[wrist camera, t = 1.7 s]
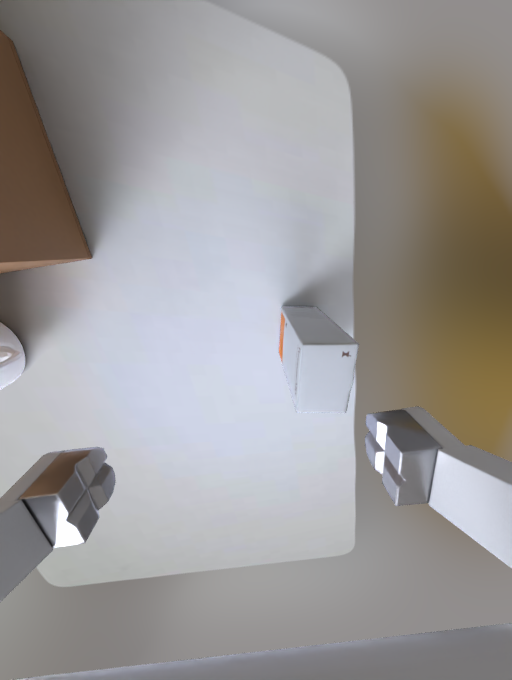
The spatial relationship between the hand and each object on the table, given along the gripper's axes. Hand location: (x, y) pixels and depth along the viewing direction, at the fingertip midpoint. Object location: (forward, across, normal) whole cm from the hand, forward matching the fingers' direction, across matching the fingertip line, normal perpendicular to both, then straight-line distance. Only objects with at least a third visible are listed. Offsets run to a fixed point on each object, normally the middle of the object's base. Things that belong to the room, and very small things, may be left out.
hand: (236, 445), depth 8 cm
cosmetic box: (+22, -6, +4) cm, 23 cm away
